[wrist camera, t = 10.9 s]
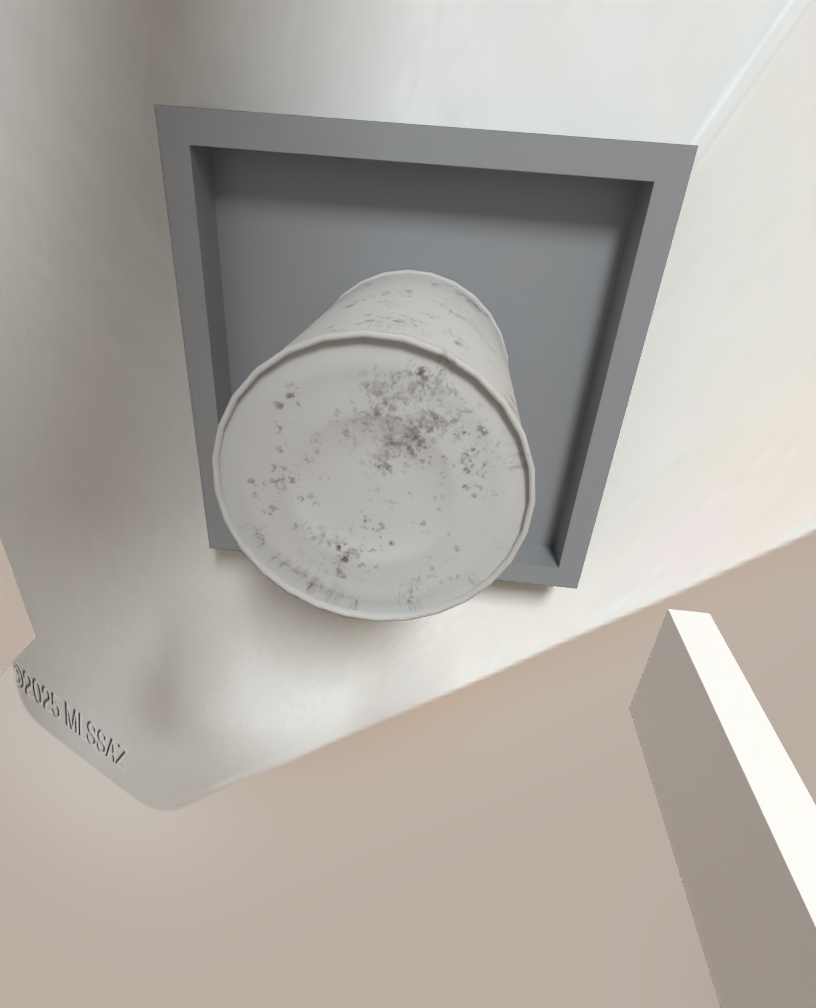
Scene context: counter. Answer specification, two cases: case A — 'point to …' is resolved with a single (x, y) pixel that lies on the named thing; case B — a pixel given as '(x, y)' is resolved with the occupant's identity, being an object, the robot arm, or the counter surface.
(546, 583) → the tray
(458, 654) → the counter surface
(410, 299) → the speckled white tin can
